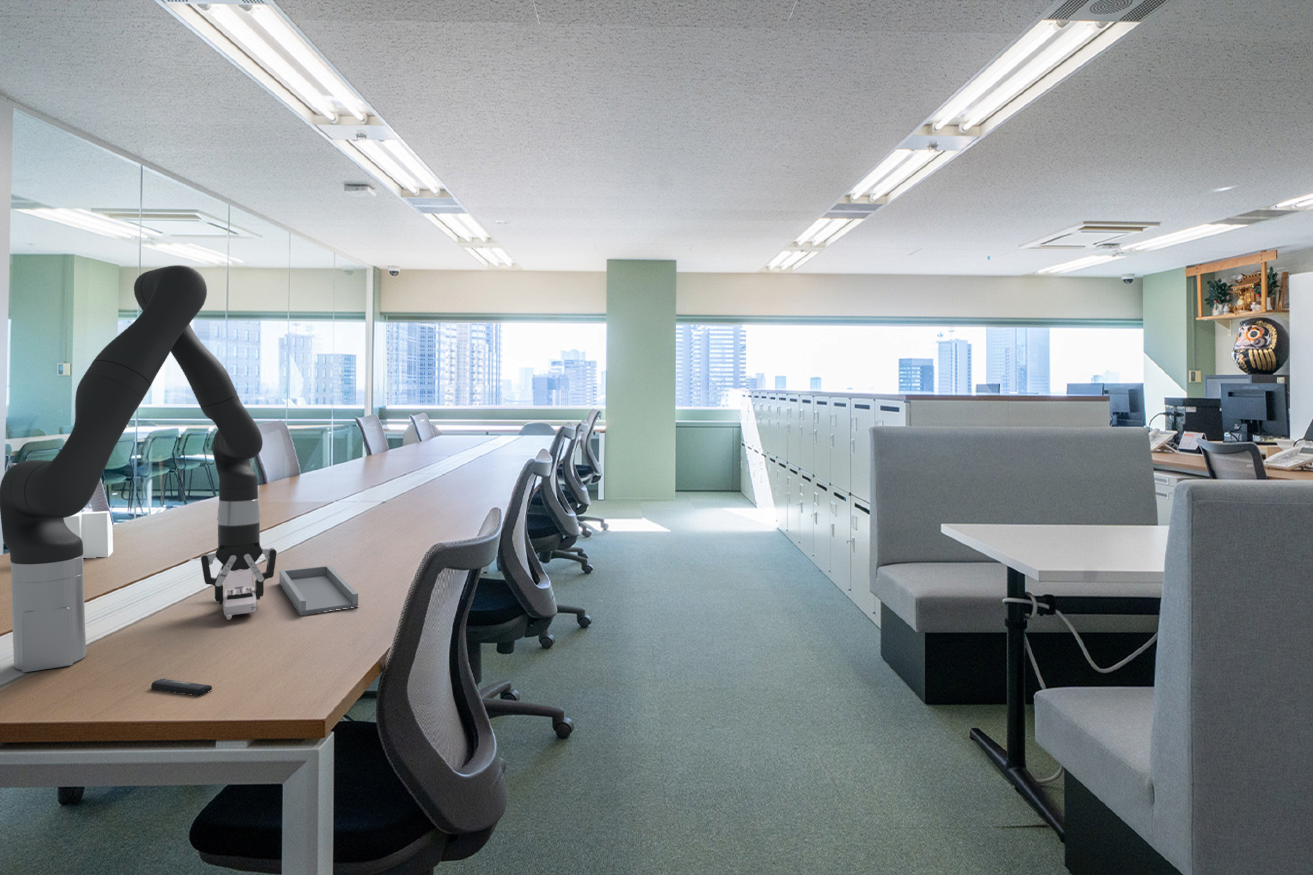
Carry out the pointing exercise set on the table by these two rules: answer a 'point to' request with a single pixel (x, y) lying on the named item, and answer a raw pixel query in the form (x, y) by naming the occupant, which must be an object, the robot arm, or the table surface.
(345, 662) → the table surface
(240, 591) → the mobile phone
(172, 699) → the table surface
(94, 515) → the corner bracket
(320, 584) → the phone dock
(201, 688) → the dark grey rounded bar
